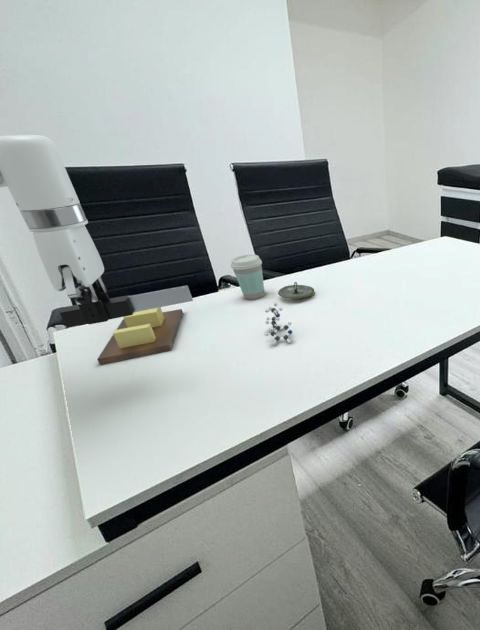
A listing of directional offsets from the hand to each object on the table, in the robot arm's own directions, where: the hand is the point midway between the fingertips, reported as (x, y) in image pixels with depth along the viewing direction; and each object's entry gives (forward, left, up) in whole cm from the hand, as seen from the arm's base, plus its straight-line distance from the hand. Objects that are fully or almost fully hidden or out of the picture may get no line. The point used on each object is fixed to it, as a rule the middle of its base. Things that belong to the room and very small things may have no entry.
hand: (101, 317), depth 71 cm
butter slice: (-2, +17, -14) cm, 22 cm away
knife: (+5, 0, 0) cm, 5 cm away
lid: (+36, +32, -16) cm, 50 cm away
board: (-2, +24, -15) cm, 28 cm away
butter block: (-2, +27, -14) cm, 31 cm away
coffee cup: (+24, +39, -16) cm, 48 cm away
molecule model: (+29, +9, -16) cm, 34 cm away
